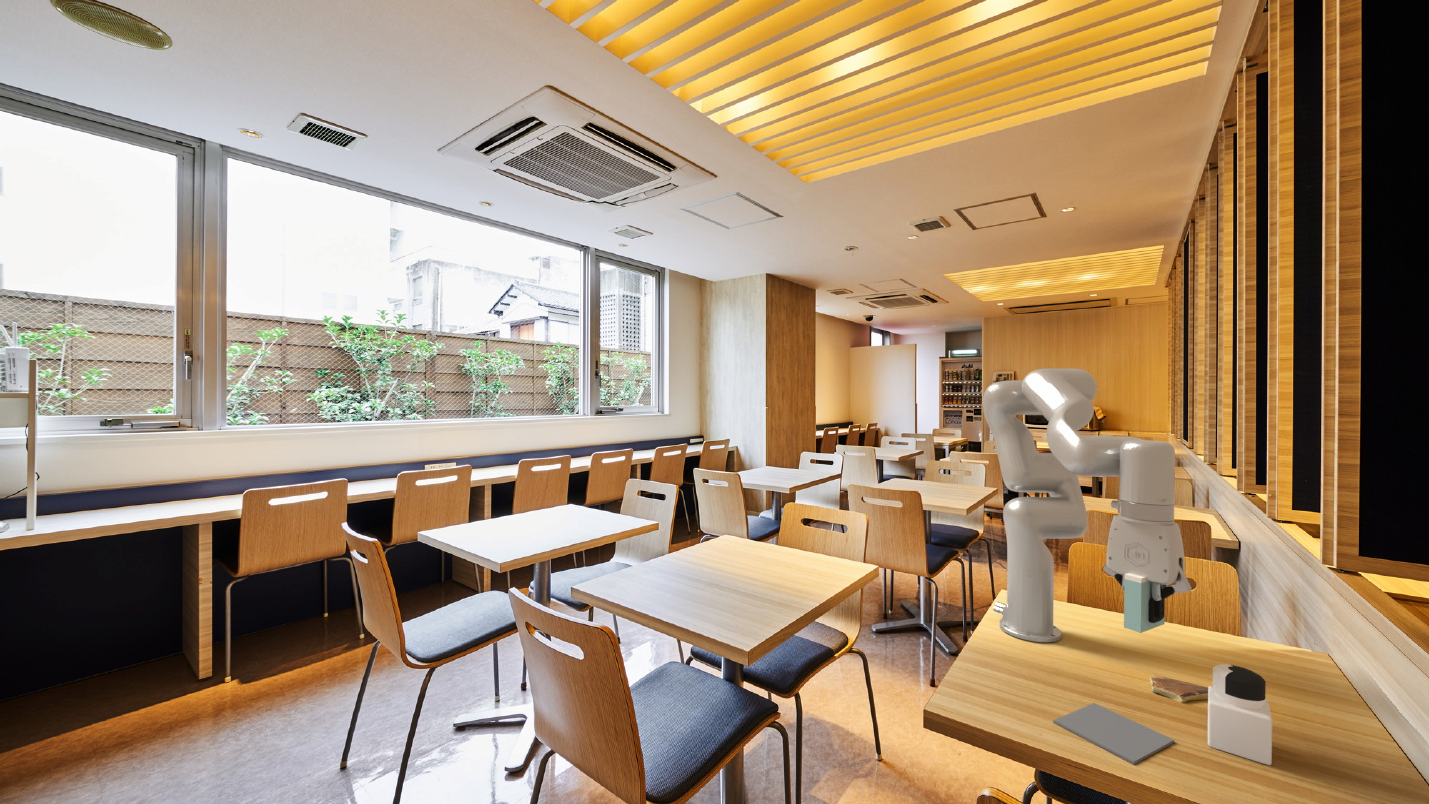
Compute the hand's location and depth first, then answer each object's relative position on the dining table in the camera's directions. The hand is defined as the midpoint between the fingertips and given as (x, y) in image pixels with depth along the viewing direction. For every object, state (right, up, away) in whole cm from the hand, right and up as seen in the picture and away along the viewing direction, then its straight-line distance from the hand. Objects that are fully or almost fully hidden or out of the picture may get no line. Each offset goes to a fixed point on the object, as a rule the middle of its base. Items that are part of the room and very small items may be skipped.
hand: (1144, 617), depth 96 cm
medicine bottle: (+8, -17, -8) cm, 21 cm away
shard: (+13, -18, +9) cm, 24 cm away
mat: (-9, -17, -5) cm, 20 cm away
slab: (0, -2, 0) cm, 2 cm away
